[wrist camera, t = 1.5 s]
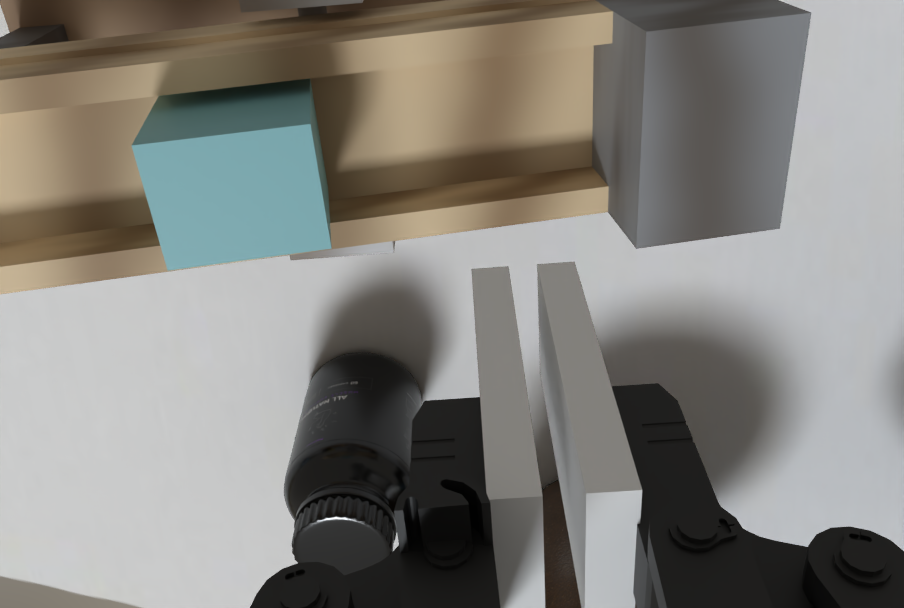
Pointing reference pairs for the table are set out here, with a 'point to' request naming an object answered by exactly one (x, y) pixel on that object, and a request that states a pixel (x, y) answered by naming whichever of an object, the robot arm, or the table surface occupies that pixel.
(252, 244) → the block
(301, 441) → the supplement bottle
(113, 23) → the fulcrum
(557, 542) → the plant pot
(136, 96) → the beam
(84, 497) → the table surface
